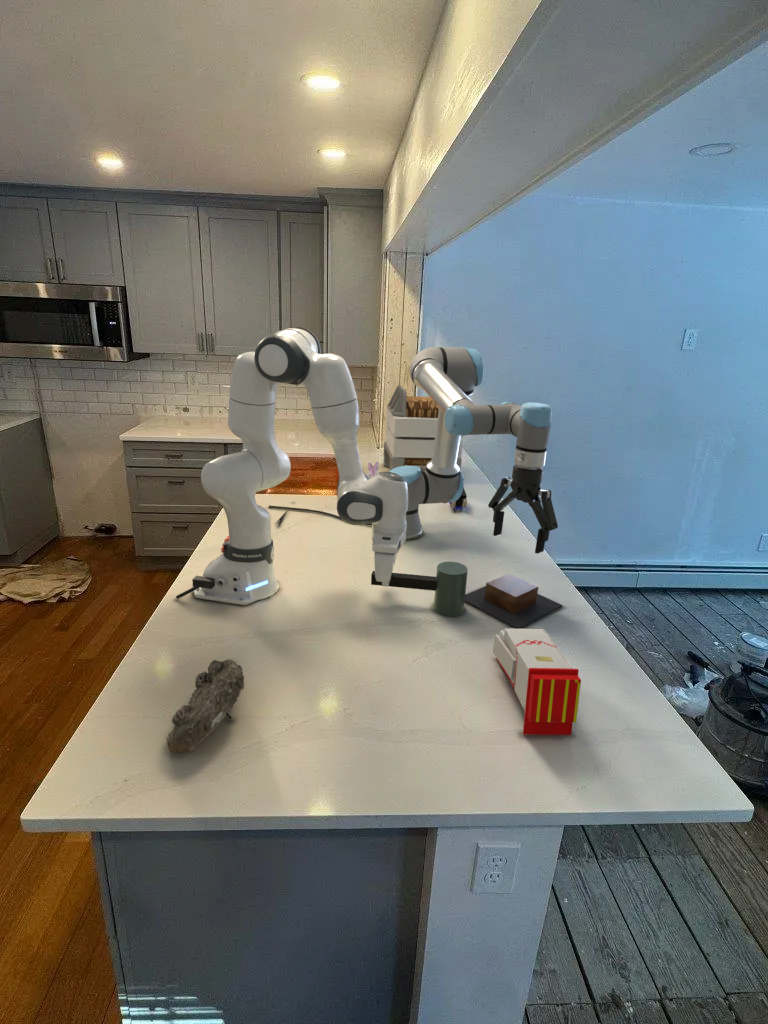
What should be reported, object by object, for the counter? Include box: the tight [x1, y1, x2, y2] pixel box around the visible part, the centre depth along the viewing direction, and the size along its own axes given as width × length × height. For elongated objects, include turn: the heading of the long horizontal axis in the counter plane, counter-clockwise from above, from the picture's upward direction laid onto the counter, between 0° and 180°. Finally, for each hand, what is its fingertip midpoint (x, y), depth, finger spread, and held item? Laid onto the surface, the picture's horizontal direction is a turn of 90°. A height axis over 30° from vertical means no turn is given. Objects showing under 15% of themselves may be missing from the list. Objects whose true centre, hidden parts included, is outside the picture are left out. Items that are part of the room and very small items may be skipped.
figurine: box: [366, 461, 380, 479], centre depth 234 cm, size 9×10×15 cm
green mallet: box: [370, 561, 469, 617], centre depth 150 cm, size 25×8×12 cm, turn 83°
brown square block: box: [484, 573, 539, 614], centre depth 155 cm, size 10×10×5 cm
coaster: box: [464, 585, 563, 629], centre depth 156 cm, size 20×20×1 cm
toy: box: [492, 627, 582, 736], centre depth 118 cm, size 12×13×30 cm
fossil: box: [166, 658, 245, 754], centre depth 106 cm, size 22×10×15 cm
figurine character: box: [448, 487, 468, 512], centre depth 228 cm, size 7×8×15 cm
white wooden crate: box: [383, 384, 464, 472], centre depth 268 cm, size 34×33×41 cm
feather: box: [274, 510, 288, 528], centre depth 213 cm, size 2×28×2 cm
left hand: (386, 582), depth 151 cm, fingers closed on green mallet, 2 cm apart
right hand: (517, 543), depth 150 cm, fingers open, 13 cm apart
